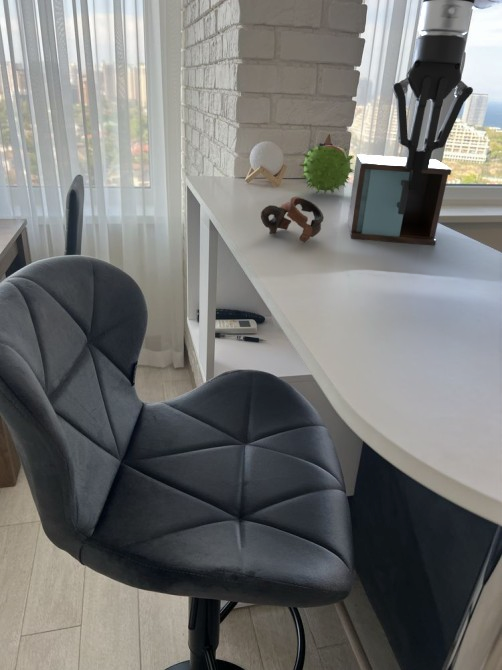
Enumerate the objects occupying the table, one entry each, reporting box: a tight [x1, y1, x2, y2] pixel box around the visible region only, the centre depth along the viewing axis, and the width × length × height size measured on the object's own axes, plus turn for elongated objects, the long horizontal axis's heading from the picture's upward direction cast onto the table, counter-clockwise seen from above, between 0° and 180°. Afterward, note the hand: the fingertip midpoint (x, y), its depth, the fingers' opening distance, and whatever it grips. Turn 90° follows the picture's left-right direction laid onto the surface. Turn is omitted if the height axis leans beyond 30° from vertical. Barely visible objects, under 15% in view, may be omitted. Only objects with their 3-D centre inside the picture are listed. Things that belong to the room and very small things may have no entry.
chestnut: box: [299, 143, 355, 195], centre depth 135 cm, size 15×14×15 cm
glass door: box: [362, 170, 410, 237], centre depth 94 cm, size 7×4×12 cm, turn 83°
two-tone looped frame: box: [260, 196, 324, 243], centre depth 95 cm, size 12×10×8 cm
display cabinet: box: [347, 154, 452, 246], centre depth 100 cm, size 16×14×14 cm
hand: (412, 188), depth 90 cm, fingers closed
